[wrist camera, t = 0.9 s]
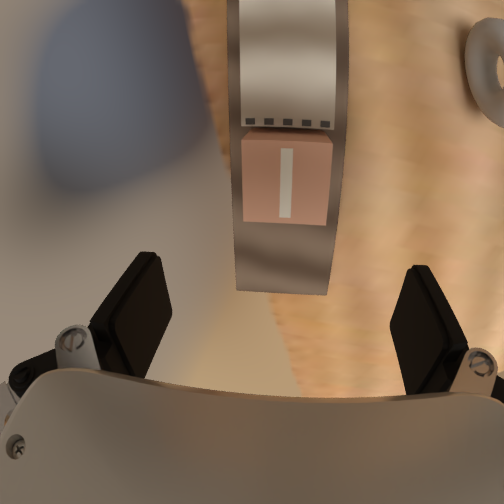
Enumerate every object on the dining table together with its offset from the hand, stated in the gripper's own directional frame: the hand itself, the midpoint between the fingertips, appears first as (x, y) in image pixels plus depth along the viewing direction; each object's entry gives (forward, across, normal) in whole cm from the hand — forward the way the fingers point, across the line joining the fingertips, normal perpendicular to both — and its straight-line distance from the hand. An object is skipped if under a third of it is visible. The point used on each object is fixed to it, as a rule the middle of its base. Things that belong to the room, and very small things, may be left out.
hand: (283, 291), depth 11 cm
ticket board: (+18, 0, -4) cm, 19 cm away
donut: (+19, -18, -12) cm, 28 cm away
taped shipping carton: (+17, 0, 0) cm, 17 cm away
